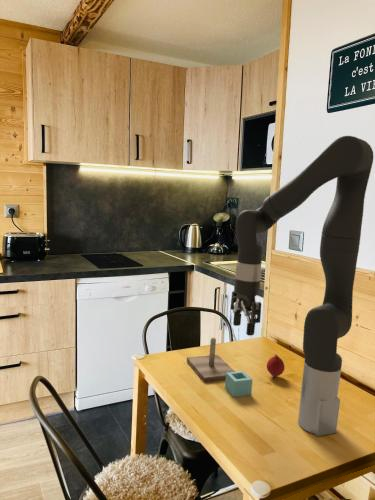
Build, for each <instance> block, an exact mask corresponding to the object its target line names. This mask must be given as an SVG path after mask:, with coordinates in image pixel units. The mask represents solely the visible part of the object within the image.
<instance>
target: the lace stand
mask: <svg viewBox="0 0 375 500" xmlns="http://www.w3.org/2000/svg"><path fill="white" fill-rule="evenodd" d="M209 343H210V344H209V355H202V356H201V355H199V356H191V357H190V356H189V357H186V362H187V364H188V365H189V366H190V367H191V369H192V370H193V371H194V372H195V373H196V375H197V376H198V377H199V378H200V379H201V380H202V382H204V383H207V382H208V383H210V382H216V381H225V380H226V373H227V372H236V370H235V369H233V368H232V367H231V366H230V365H229V364H228V363H227V362H226V361H225V360H224V359H222V357H221V356H220V355H219V354H216V347H217V345H216V343H217V339H216V338H215V337H211V339H210V341H209Z"/></svg>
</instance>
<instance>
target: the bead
mask: <svg viewBox="0 0 375 500" xmlns="http://www.w3.org/2000/svg"><path fill="white" fill-rule="evenodd" d="M224 381H225V382H224V389H226V390H227V392H228V393H229V394H230V395H231V397H233V398H237V397H238V398H239V397H244V396H251V395H252V390H253V378H252V377H251V376H250V375H248V374H247V372H245V370H239V371H236V370H235V372H227V373H226V380H224Z"/></svg>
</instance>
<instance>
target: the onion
mask: <svg viewBox="0 0 375 500" xmlns="http://www.w3.org/2000/svg"><path fill="white" fill-rule="evenodd" d="M266 369H267V372H269V374H270V375H271V376H272V377H273V378H276V377H279V376H281V375H282V374H283V373H284V372H285V363H284V360H283V359H282V358H280V357H279V355H278V354H277V353H274V356H272V357H270V358H269V359H268V361H267V363H266Z"/></svg>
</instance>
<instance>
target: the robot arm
mask: <svg viewBox="0 0 375 500" xmlns="http://www.w3.org/2000/svg"><path fill="white" fill-rule="evenodd" d="M373 163H374V150H373V148H372V146H371V144H369V143H368V142H367V141H365V140H363V139H361V138H358V137H356V136H352V135H343V136H340V137H338V138H337V139H334V140H333V141H332V142H331V143H330V144H329V145H328V146H327V147H326V148H325V149H324V150H323V151H322V152H321V153H320V154H319V155H317V157H316V158H315V159H314V160H313V161H312V162H310V163H309V164H308V165H307V166H306V167H305V168H304V169H302V171H300V172H299V173H298V174H296V176H295V177H293V178H292V179H291V180H288V182H286V183H285V184H283V185H282V186H281V187H279V188H278V189H276V190H274V192H273V193H271V194H269V196H267V197H266V198H265V199H263V202H262V206H260V207H259V208H257V209H245V210H242V211H241V212H239V214H238V215H237V217H236V220H235V234H236V236H235V237H236V242H237V247H238V249H237V262H236V265H235V266H236V267H235V273H234V274H235V275H234V287H233V291H232V292H231V299H230V300H231V301H230V310H232V313H233V319H232V320H233V321H232V324H233V326H234V327H236V326H237V327H238V326H241V324H242V312H243V314H244V317H246V322H247V324H246V333H245V334H246V335H247V336H254V335H255V329H256V328H255V327H256V324H258V323H259V324H260V322H261V314H262V302H261V301H259V302H257V301H256V297H257V296H259V294H260V289H261V282H262V281H261V279H262V260H263V246H262V245H261V244H260V243H258V240H257V239H258V238H257V237H258V236H257V235H261V234H263V233H265V232H267V231H268V230H270V229H271V228H272V227H273V226H274V225H275V224H277V223H278V221H280V219H282V218H283V217H285V216H286V215H288V214H290V213H291V212H293V211H294V210H296V209H297V208H299V207H300V206H301V205H302V204H303V203H304V202H306V201H307V199H308V198H310V196H311V195H312V194H313V193H314V192H315V191H317V190H318V189H319V188H321V187H323V185H325V184H327V183H328V182H331V181H333V180H335V179H336V185H335V186H336V188H335V195H334V197H333V198H334V199H333V201H332V203H331V206H330V208H329V210H328V213H327V215H326V217H325V219H324V223H323V226H322V230H321V237H320V245H319V258H320V262H321V267H322V270H323V274H324V278H325V290H324V297H323V300H322V303H321V304H322V305H318V306H316V307H315V306H314V307H313V308H311V309H310V310H309V311H308V313H306V316H305V319H304V325H303V341H302V351H303V355H304V361H303V362H304V363H303V370H302V371H303V372H302V378H301V379H302V380H301V390H300V399H299V400H300V401H299V407H298V409H299V410H298V418H297V423H298V425H299V426H300V428H302V429H303V430H305V431H306V432H308V433H311V434H314V436H316V437H321V436H325V435H330V434H331V435H332V434H336V433H337V429H338V420H339V412H340V407H341V406H340V404H341V399H340V398H339V390H340V389H339V388H340V379H341V371H342V364H343V358H342V356H341V354H339V353H337V351H338V339H340V338H343V337H344V336H346V335H347V334H348V333H349V332H350V330H351V327H352V323H353V322H352V321H353V299H354V298H353V297H354V296H353V293H354V283H355V278H356V271H357V263H358V256H359V252H360V251H359V250H360V244H361V236H362V235H361V234H362V224H363V217H364V207H365V199H366V192H367V187H368V183H369V179H370V176H371V171H372V168H373V167H372V166H373Z"/></svg>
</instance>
